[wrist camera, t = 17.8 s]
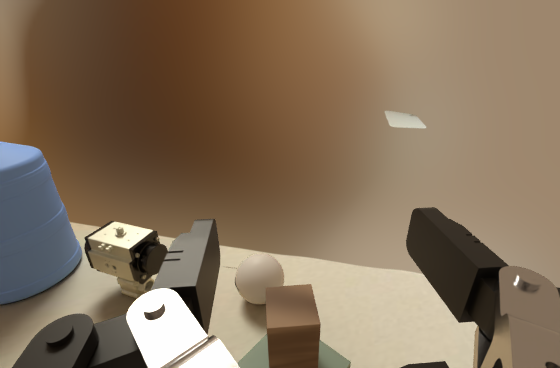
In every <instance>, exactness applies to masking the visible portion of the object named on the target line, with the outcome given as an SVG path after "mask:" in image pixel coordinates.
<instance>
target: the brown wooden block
mask: <svg viewBox="0 0 560 368" xmlns="http://www.w3.org/2000/svg"><path fill="white" fill-rule="evenodd" d="M265 294H266V320H267V339H268V356H269V368H318V359H319V341H320V320H319V316H318V311H317V307H316V303H315V299H314V294H313V290H312V286H311V284H307V285H294V286H280V287H266V288H265Z"/></svg>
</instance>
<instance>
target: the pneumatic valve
mask: <svg viewBox="0 0 560 368" xmlns="http://www.w3.org/2000/svg"><path fill="white" fill-rule="evenodd" d="M85 240H86V243H85V253H86V256H87V258H88V261H89V263H90V266H91V268H94V269H97V271H100V272H103V273H107V274H110V275H113V276H116V277H118V278H117V281H118V284H120V286H121V288H122V290H121V292H122V294H124V295H127V296H130V297H133V298H137V299H138V298H139V297H141V296H142V295H143V294H144V293H148V292H150V291H151V288H152V286H153V284H154V280H153V279H151V276H152V275H155V274H157V273H159V271H160V268H161V266H162V264H163V262H164V261H165V260H164V259H165V257H166V255H167V253H168V250H167V248H166V246H165V245H163V244H160V242H159V238H158V234H157V231H154V230H149V229H144V228H140V227H136V226H132V225H127V224H123V223H118V222H114V221H111V222H109V223H107V224H106V225H104V226H103V227H101V228H99V229H98V230H96V231H94V232H93V233H91V234H89V235H88V236H86V237H85Z"/></svg>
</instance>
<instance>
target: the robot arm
mask: <svg viewBox="0 0 560 368" xmlns="http://www.w3.org/2000/svg"><path fill="white" fill-rule="evenodd" d="M406 246H407V250H408V252H409V255H410V256H411V258H412V259H413V260H414V262H415V263H416V265H417V266H418V267H419V269H420V270H421V271H422V273H423V274H424V275H425V277H426V278H427V280H428V281H429V282H430V284H431V285H432V286H433V288H434V289H435V290H436V292H437V293H438V295H439V296H440V297H441V299H442V300H443V301H444V303H445V304H446V305H447V307H448V308H449V310H450V311H451V312H452V314H453V315H454V316H455V318H456V319H457V320H458V322H459V323H461V322H474V321H475V323H476V324H477V325H478V326H477V328H476V331H475V340H474V359H473V368H560V288H557V287H555V286H554V284H553V283H552V282H551V281H549V280H548V279H547V278H545V277H544V276H542V275H540V274H538V273H536V272H534V271H532V270H529V269H526V268H522V267H517V266H508V265H507V264H506V263H505V262H504V261H503V260H502V259H500V258H499V257H498V256H497V255H496V254H495V253H493V252H492V251H491V250H490V249H489V248H488V247H487V246H485V245H484V244H483V243H480V241H479V239H477V238H476V237H475V236H472V234H471V233H470V232H469V231H468V230H467V229H466V228H465V227H464V226H462V225H460V224H458V223H456V222H455V221H453V220H451V219H448V218H447V217H446V216H444V215H443V214H442V213H441V212H440V211H439V210H438V209H436V208H434V207H432V208H416V209H414V210H413V212H412V215H411V220H410V225H409V230H408V235H407V240H406ZM164 260H165V261H164V262H163V264H162V266H161V268H160V271H159V273H158V275H157V277H156V279H155V282H154V284H153V286H152V288H151V291H150V292H148V293H146V294H144V295H142V296H141V297H139V298H138V299H137V300H136V301H135V302H134V303H133V304H132V305H131V307H130V308H129V310H128V312H127V313H126V314H124V315H121V316H118V317H115V318H112V319H109V320H106V321H103V322H99V323H96V324H94V323H93V321H92V319H91V318H90V317H89V316H88V315H85V314H72V315H68V316H65V317H62V318H59V319H57V320H55V321H54V322H52V323H50V324H49V325H47V326H46V327H44V328H43V329H42V330H41V331H39V332H38V333H37V334H36V335H35V337H34V338H33V339H32V340H31V342H30V343H29V344H28V346H27V347H26V349H25V350H24V351H23V353H22V354H21V356H20V357H19V358H18V360H17V361H16V363H15V364H14V365H13V367H12V368H240V367H239V366H238V364H237V363H236V361H235V360H234V359H233V357H232V356H231V355H230V353H229V352H228V351H227V349H226V348H225V347H224V345H223V344H222V343H221V341H220V340H219V339H218V338H217V337H216V336H214V335H213V336H211V337H210V338H209V337H208V336H207V335H208V329H209V323H210V318H211V312H212V307H213V301H214V295H215V290H216V284H217V279H218V273H219V268H220V248H219V241H218V234H217V227H216V221H215V219H203V220H202V219H201V220H195V221H194V224H193V227H192V229H191V232H190V233H181V234H180V235H179V236H178V237H177V238H176V239H175V240H174V241H173V242H172V244H171V246H170V248H169V250H168V253H167V255H166V257H165V259H164ZM401 368H449V367H448V365H447V364H446V362H445V361H443V362H431V363H419V364H408V365H406V366H403V367H401Z"/></svg>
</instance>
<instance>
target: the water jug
mask: <svg viewBox="0 0 560 368" xmlns="http://www.w3.org/2000/svg"><path fill="white" fill-rule="evenodd" d="M81 255H82V250H81V247H80V244H79V242H78V240H77V239H76V237H75V234H74V232H73V229H72V227H71V224H70V222H69V220H68V215H67V212H66V209H65V207H64V205H63V203H62V202H61V199H60V197H59V194H58V192H57V189H56V187H55V185H54V182H53V179H52V177H51V172H50V169H49V166H48V164H47V162H46V160H45V159H44V157H43V154H42V152H41V151H40V150H39V149H37V148H35V147H31V146H25V145H19V144H12V143H6V142H0V304H7V303H11V302H15V301H19V300H22V299H25V298H28V297H31V296H33V295H36V294H38V293H40V292H42V291H44V290H46V289H48V288H50V287H52V286H53V285H55V284H56V283H58V282H59V281H61V280H62V279H64V278H65V277H66V276H67V275H68V274H70V273H71V272H72V271H73V269H74V268H75V267H76V266H77V264H78V263H79V261H80V259H81Z"/></svg>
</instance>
